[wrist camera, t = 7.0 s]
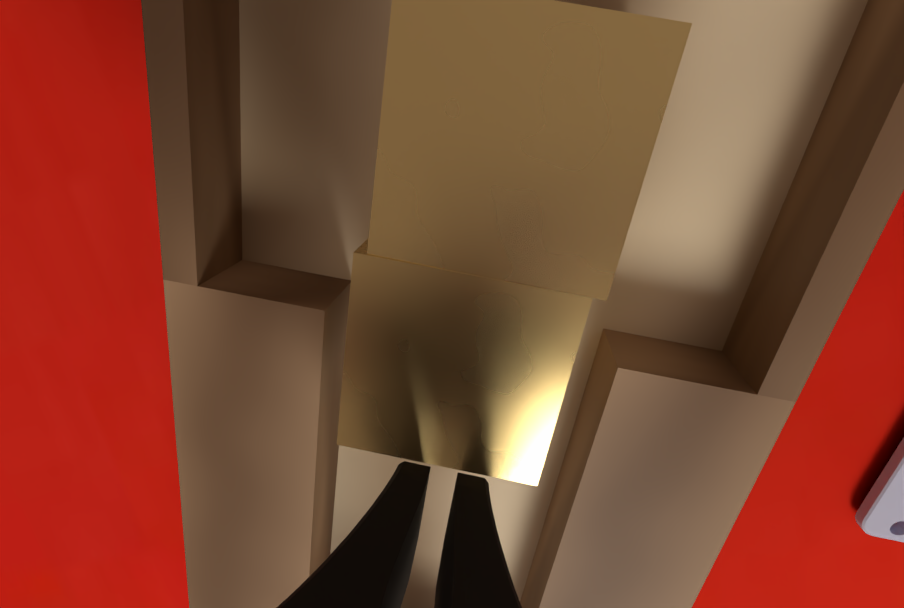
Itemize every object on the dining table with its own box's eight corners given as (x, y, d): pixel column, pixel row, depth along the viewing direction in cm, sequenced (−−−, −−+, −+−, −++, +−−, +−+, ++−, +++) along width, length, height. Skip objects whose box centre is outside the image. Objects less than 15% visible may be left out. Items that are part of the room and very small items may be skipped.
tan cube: (567, 235, 12) (593, 297, 8) (530, 379, 13) (537, 486, 10) (401, 204, 12) (352, 252, 8) (384, 350, 14) (336, 444, 10)
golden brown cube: (629, 50, 10) (692, 23, 7) (578, 237, 12) (606, 300, 8) (438, 18, 10) (394, -27, 7) (413, 206, 12) (367, 254, 8)
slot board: (950, -158, 9) (1135, -267, 6) (572, 725, 20) (581, 824, 18) (223, -256, 10) (110, -392, 7) (240, 649, 21) (199, 732, 18)
